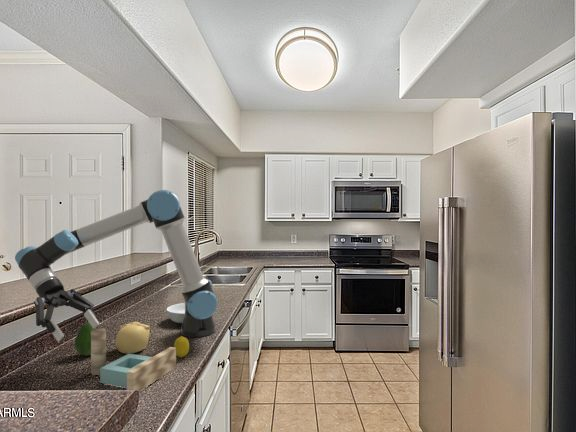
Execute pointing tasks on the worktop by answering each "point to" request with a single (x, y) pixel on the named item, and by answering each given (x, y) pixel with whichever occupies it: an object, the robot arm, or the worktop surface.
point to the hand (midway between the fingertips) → (79, 332)
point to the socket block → (120, 369)
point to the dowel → (98, 350)
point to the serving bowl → (176, 312)
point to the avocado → (84, 340)
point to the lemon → (181, 346)
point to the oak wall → (151, 369)
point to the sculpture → (132, 337)
